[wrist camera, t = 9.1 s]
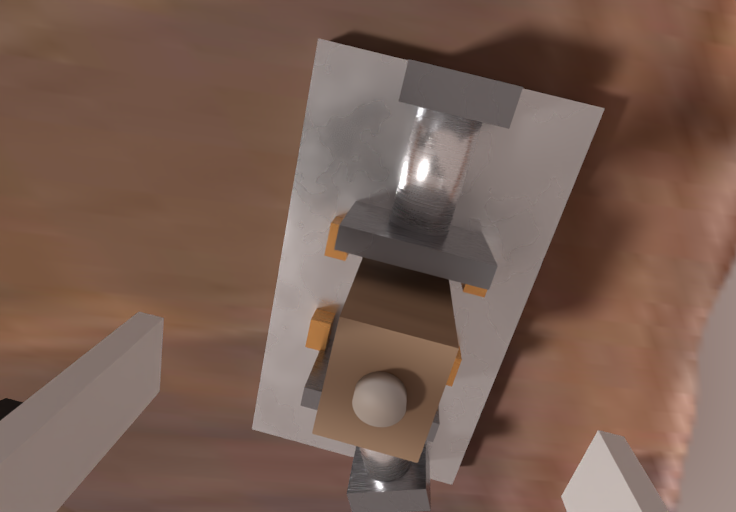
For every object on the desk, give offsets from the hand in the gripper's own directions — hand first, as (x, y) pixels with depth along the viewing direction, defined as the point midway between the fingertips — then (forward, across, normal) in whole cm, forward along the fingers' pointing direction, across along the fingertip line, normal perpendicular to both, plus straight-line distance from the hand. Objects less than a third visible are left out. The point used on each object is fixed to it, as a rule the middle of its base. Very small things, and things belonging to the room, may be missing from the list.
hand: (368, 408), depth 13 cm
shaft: (+9, +2, -8) cm, 12 cm away
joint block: (+9, 0, -1) cm, 9 cm away
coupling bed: (+10, +1, 0) cm, 10 cm away
